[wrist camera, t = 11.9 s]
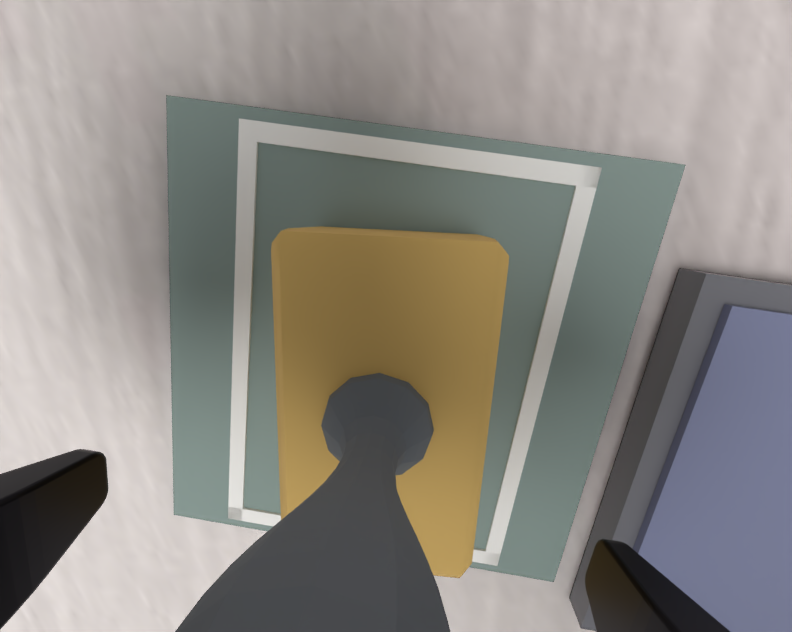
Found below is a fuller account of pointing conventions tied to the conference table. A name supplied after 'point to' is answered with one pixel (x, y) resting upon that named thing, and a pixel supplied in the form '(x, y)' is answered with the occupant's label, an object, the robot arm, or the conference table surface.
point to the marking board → (408, 211)
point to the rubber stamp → (371, 431)
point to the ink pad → (711, 455)
